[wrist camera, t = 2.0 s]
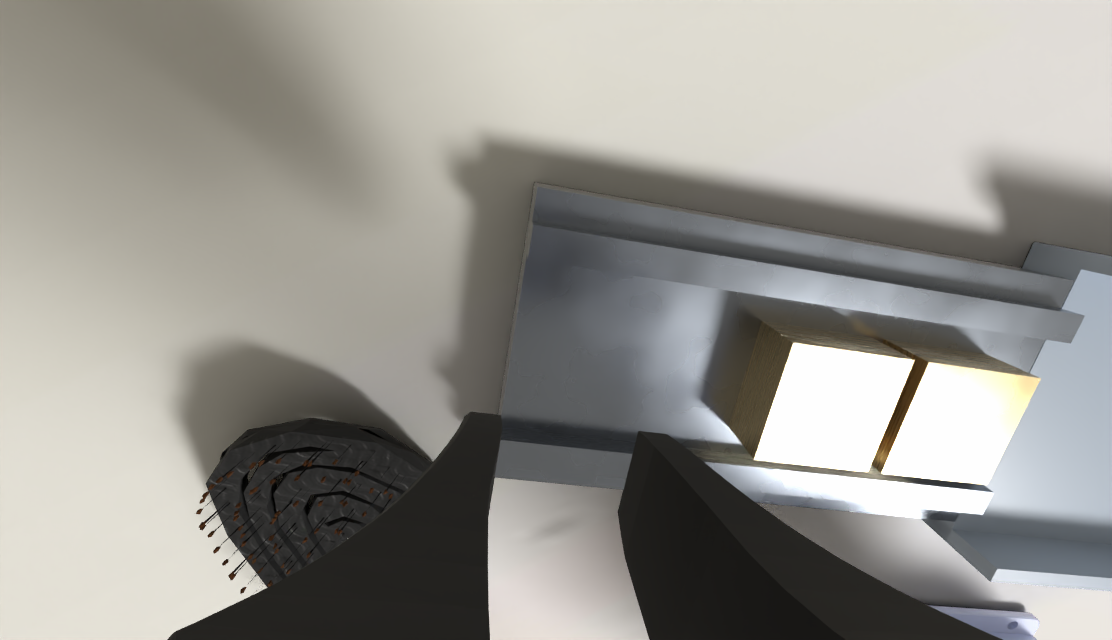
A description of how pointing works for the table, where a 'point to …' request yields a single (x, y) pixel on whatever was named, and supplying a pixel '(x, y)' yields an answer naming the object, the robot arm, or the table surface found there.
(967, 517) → the tray
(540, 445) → the slotted bar
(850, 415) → the cream square block
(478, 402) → the table surface
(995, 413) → the brass chip
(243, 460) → the hairbrush
